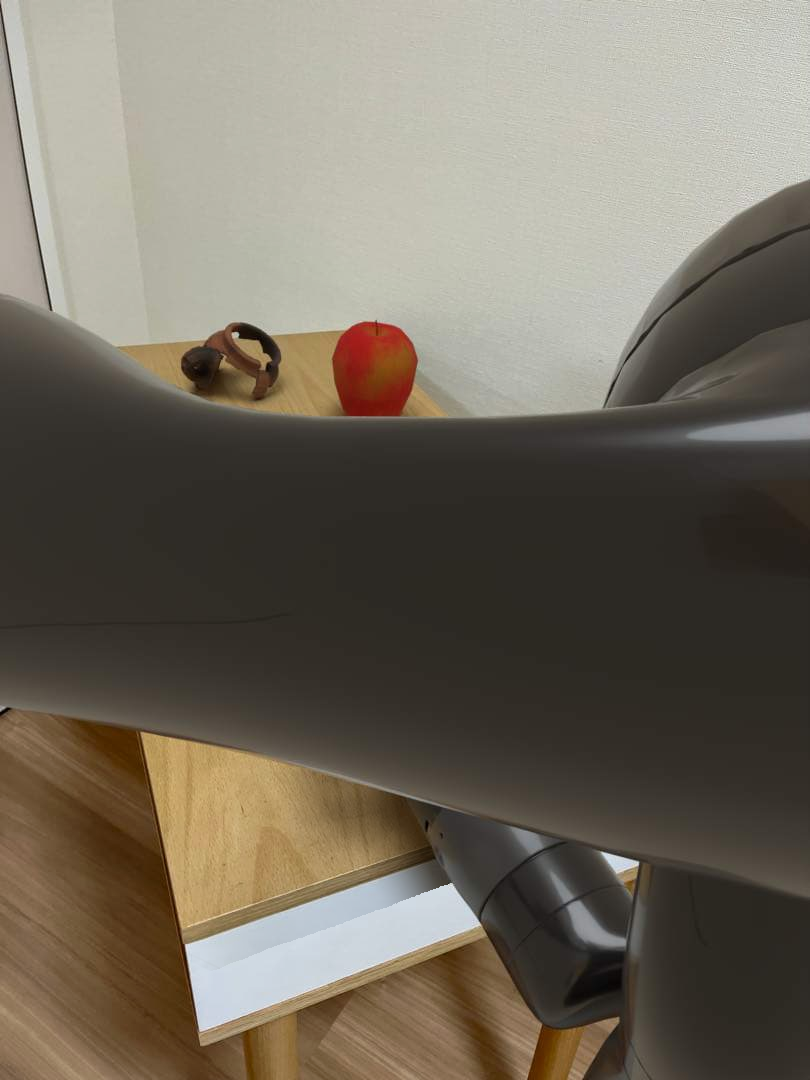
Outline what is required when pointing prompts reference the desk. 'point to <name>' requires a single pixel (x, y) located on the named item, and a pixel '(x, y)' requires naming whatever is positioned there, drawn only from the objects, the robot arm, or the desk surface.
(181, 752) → the desk surface
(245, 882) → the desk surface
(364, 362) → the apple
